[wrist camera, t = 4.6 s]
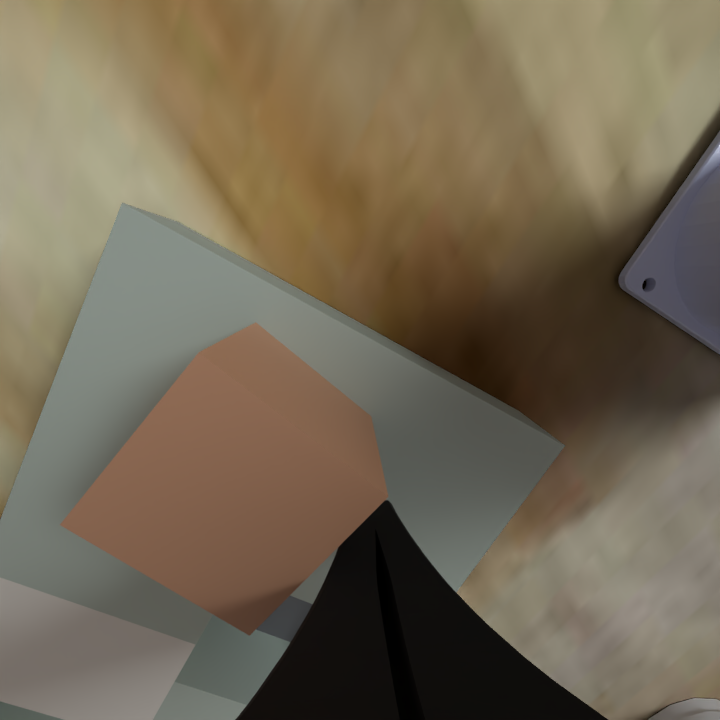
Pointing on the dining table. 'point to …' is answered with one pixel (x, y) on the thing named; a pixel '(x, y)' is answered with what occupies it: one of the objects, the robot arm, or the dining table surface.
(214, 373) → the terracotta block
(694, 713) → the foam cup
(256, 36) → the dining table surface
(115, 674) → the board
